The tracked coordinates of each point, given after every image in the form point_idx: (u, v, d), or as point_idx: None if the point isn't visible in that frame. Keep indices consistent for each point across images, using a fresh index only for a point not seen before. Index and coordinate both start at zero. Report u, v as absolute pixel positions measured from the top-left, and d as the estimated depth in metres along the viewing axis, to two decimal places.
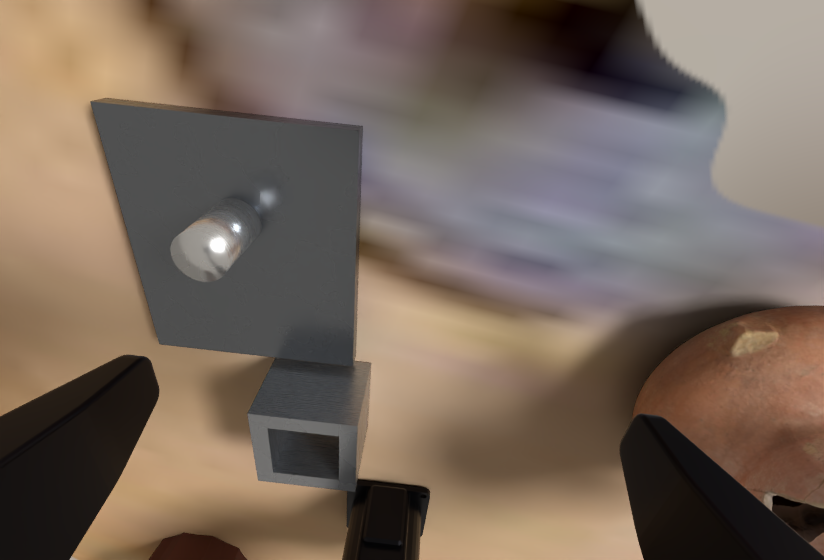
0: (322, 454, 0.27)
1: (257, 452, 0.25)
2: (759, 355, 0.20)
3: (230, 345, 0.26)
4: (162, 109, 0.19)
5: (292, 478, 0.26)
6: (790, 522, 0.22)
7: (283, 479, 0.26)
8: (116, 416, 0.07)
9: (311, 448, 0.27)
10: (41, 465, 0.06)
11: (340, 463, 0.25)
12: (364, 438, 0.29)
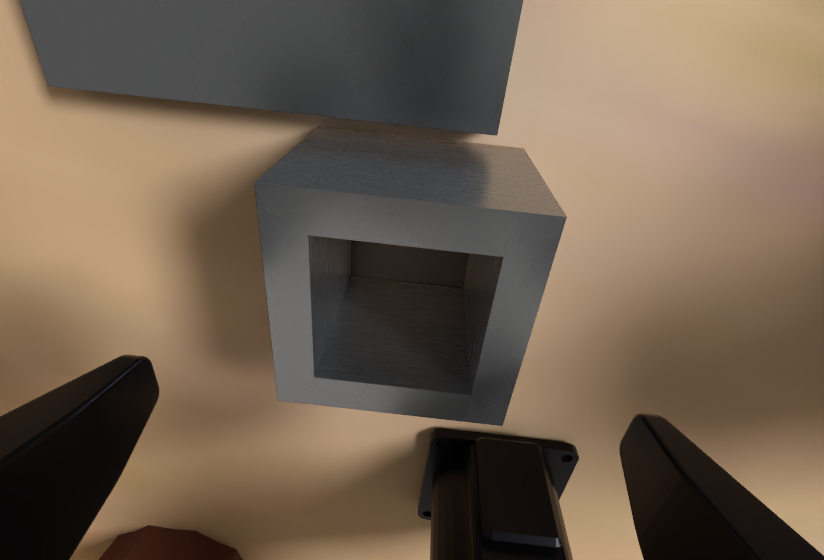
0: (419, 347, 0.12)
1: (278, 318, 0.10)
2: None
3: (212, 81, 0.11)
4: None
5: (359, 394, 0.11)
6: None
7: (338, 396, 0.11)
8: (116, 416, 0.07)
9: (392, 337, 0.12)
10: (41, 465, 0.06)
11: (486, 346, 0.10)
12: None
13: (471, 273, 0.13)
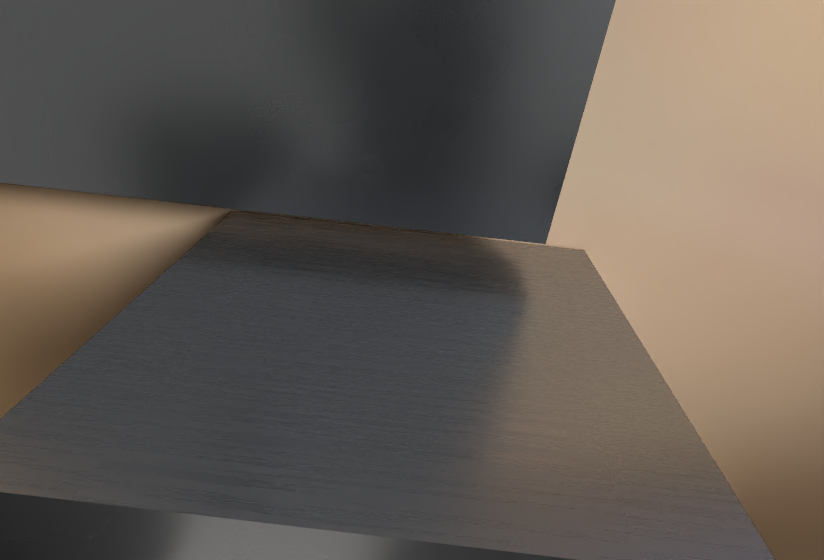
0: None
1: None
2: None
3: (11, 146, 0.06)
4: None
5: None
6: None
7: None
8: None
9: None
10: None
11: None
12: None
13: None
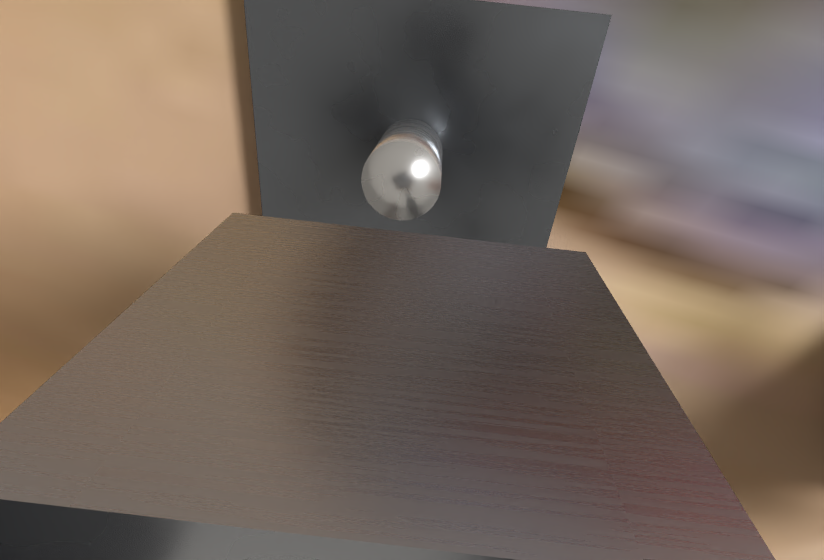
0: None
1: None
2: None
3: None
4: None
5: None
6: None
7: None
8: None
9: None
10: None
11: None
12: None
13: None
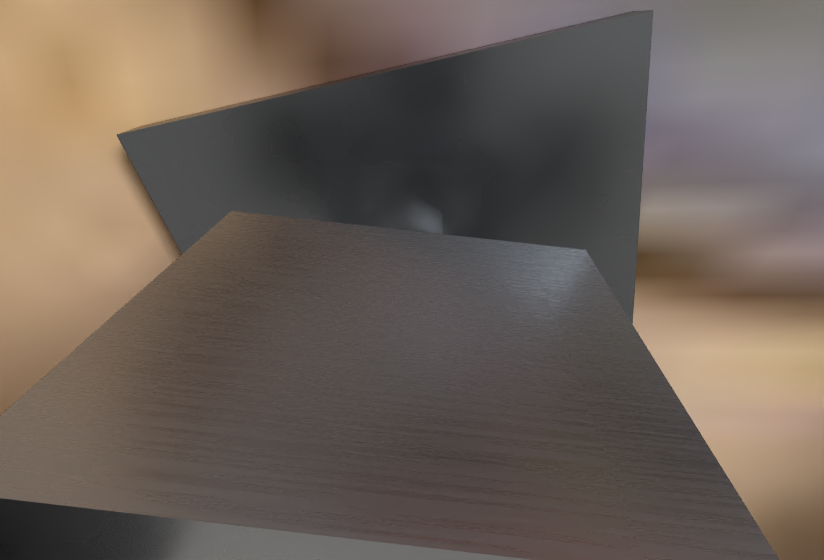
0: None
1: None
2: None
3: None
4: (239, 106, 0.10)
5: None
6: None
7: None
8: None
9: None
10: None
11: None
12: None
13: None
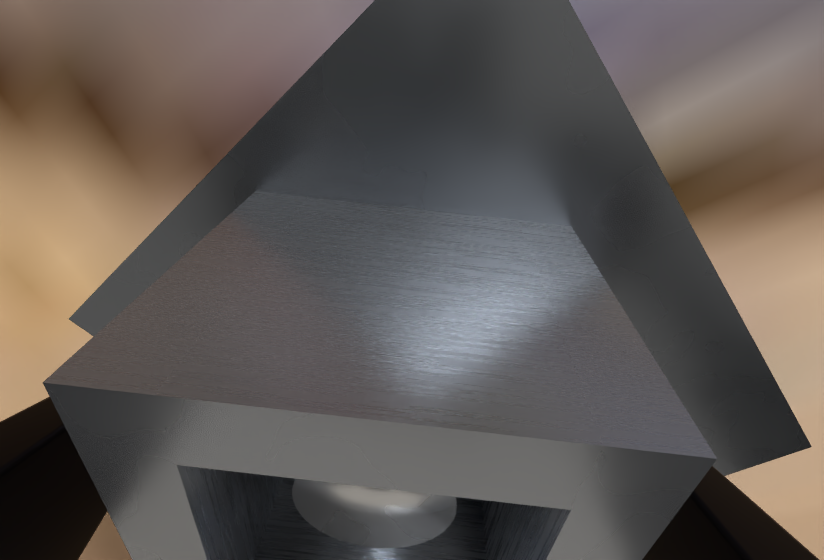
0: None
1: None
2: None
3: None
4: (141, 243, 0.09)
5: None
6: None
7: None
8: None
9: None
10: (50, 466, 0.06)
11: None
12: None
13: None
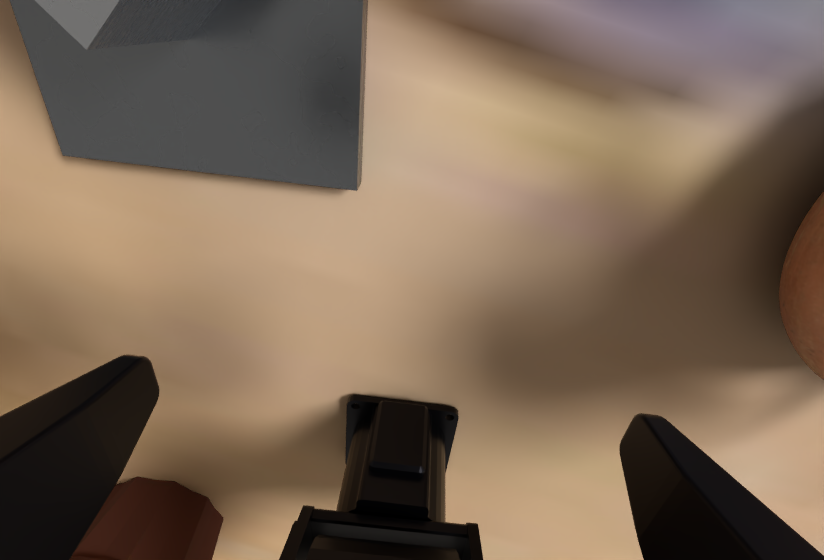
0: None
1: None
2: None
3: (169, 154, 0.17)
4: None
5: None
6: None
7: None
8: (116, 416, 0.07)
9: None
10: (41, 465, 0.06)
11: None
12: (175, 27, 0.13)
13: None
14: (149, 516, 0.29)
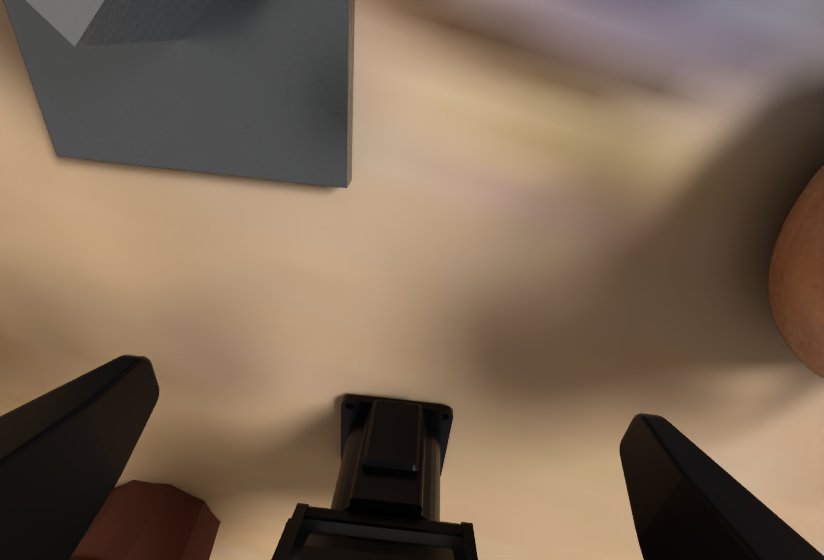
0: None
1: None
2: None
3: (162, 154, 0.17)
4: None
5: None
6: None
7: None
8: (116, 416, 0.07)
9: None
10: (41, 465, 0.06)
11: None
12: (164, 27, 0.13)
13: None
14: (144, 519, 0.28)
